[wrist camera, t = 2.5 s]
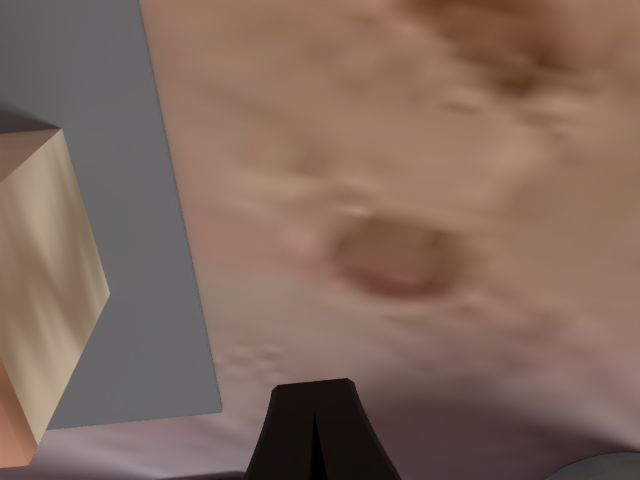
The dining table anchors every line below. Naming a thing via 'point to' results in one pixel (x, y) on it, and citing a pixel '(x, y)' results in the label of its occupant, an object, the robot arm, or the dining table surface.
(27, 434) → the birch block
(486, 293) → the dining table surface
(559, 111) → the dining table surface
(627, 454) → the drinking glass
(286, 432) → the robot arm
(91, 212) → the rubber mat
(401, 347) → the dining table surface
